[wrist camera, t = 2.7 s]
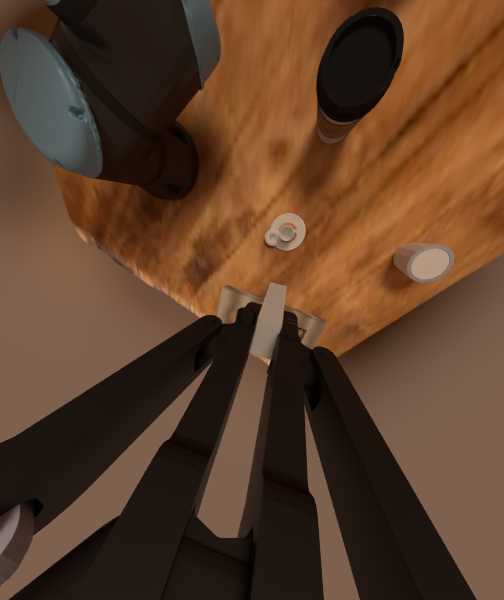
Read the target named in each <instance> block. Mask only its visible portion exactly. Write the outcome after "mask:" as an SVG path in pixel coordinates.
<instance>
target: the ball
mask: <svg viewBox="0 0 504 600" xmlns="http://www.w3.org/2000/svg"><path fill="white" fill-rule="evenodd" d="M236 315H237V310H236V311H233V312H232V313H231V314H230V316H229V321H230V322H231V323H235V320H236Z"/></svg>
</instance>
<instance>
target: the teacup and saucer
mask: <svg viewBox="0 0 504 600" xmlns="http://www.w3.org/2000/svg"><path fill="white" fill-rule="evenodd" d="M285 222H291V223H293V224H294V225H295V226H296V228H297V230H294V229H293V228H292V227H291V226H289V225H286V226H283V227H282V228H281V229H280V231H278V228H279V227H280V225H282V224H283V223H285ZM305 232H306V230H305V225H304V222H303V220H302V219H301V218H300V217H299V216H297V215H295V214H292V213H285V214H282V215H280V216H278V217H277V218H276V219H275V220H274V221H273V223H272V225H271V227H270V230H268V231H267V232H266V234H265V237H264V238H265V242H266V243H267V244H268V245H270V246H276V247H277V248H278V249H280V250H285V251H288V250H293V249H295V248H296V247H298V246H299V245H300V244H301V243H302V241H303V239H304V237H305ZM294 233H297V236H296V238H295V239H294V240H293V241H291V242H289V243H285V242H282V241H281V240H280V239H282V240H283V241H289V240H291V239H292V238H293V236H294Z"/></svg>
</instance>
